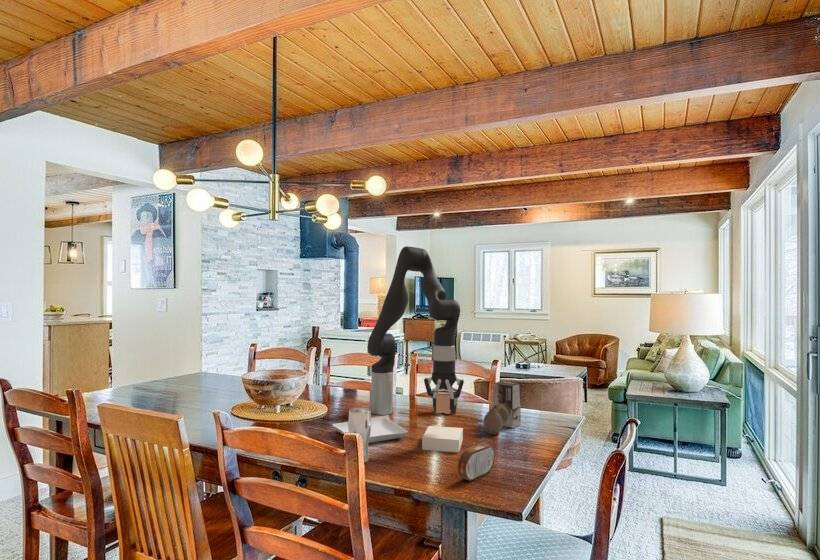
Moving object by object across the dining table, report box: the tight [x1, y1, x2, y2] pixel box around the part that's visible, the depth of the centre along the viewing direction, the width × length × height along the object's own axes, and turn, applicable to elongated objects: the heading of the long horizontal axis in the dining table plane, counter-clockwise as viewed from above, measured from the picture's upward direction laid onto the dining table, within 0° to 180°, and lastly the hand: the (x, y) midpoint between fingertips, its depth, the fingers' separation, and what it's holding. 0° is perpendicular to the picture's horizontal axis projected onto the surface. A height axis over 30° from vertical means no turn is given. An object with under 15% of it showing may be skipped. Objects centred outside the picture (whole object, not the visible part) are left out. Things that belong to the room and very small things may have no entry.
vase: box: [482, 407, 503, 435], centre depth 180 cm, size 7×7×9 cm
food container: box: [431, 387, 459, 415], centre depth 211 cm, size 12×6×10 cm, turn 84°
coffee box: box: [492, 380, 522, 429], centre depth 192 cm, size 9×6×16 cm
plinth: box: [421, 425, 464, 453], centre depth 166 cm, size 12×14×4 cm
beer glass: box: [347, 407, 372, 463], centre depth 150 cm, size 7×7×15 cm
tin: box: [457, 442, 496, 482], centre depth 138 cm, size 15×3×8 cm, turn 137°
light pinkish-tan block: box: [435, 392, 451, 415], centre depth 166 cm, size 4×4×6 cm
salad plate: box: [332, 416, 408, 444], centre depth 175 cm, size 21×21×3 cm
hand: (443, 409), depth 166 cm, fingers closed on light pinkish-tan block, 4 cm apart
